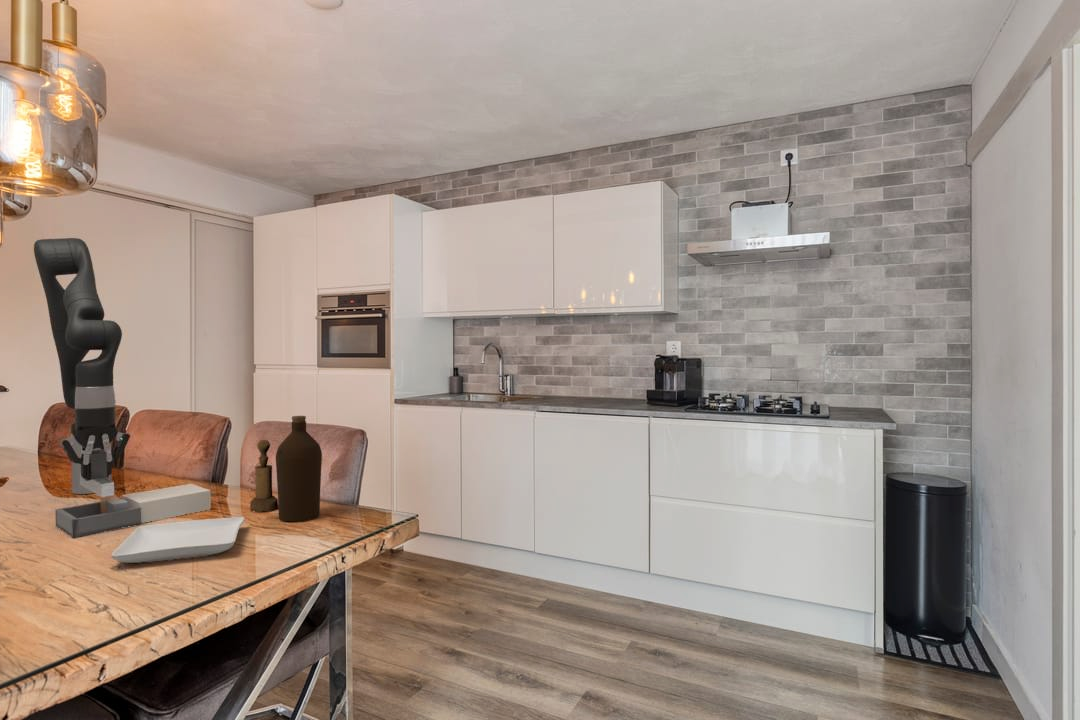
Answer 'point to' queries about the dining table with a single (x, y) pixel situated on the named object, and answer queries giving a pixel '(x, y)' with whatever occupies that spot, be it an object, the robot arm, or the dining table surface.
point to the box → (94, 519)
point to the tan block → (104, 503)
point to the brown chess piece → (263, 482)
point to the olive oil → (298, 474)
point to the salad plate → (179, 540)
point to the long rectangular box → (169, 502)
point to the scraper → (98, 475)
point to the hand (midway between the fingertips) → (96, 478)
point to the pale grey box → (117, 505)
